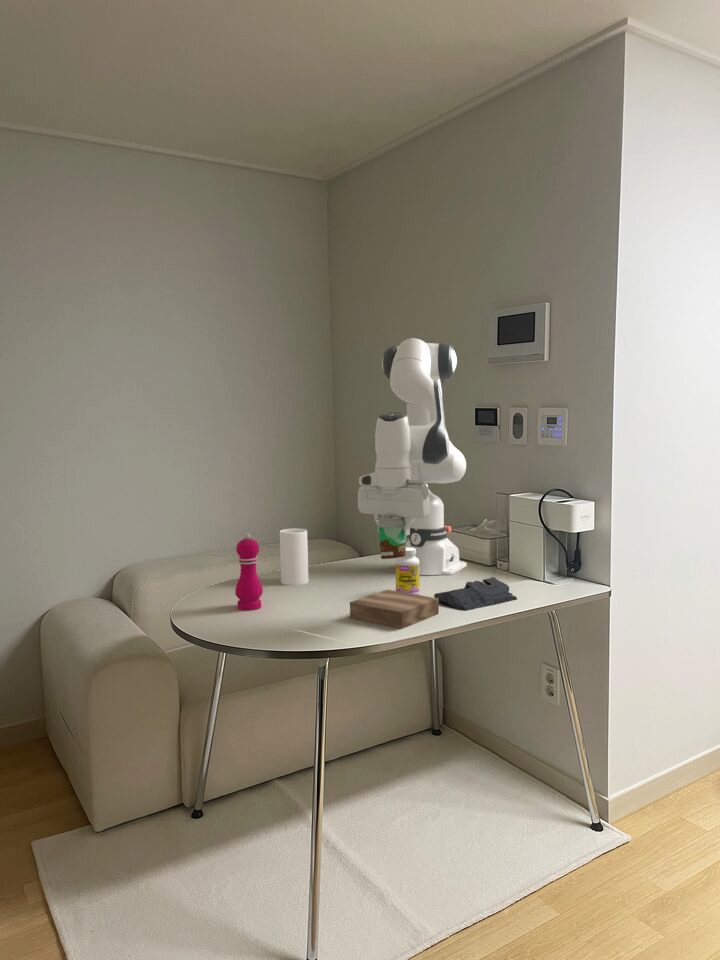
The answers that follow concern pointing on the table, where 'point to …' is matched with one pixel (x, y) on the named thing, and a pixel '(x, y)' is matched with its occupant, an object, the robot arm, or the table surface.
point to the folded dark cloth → (477, 595)
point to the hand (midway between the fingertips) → (393, 533)
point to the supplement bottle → (407, 572)
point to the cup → (294, 556)
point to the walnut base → (394, 608)
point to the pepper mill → (248, 575)
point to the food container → (392, 537)
